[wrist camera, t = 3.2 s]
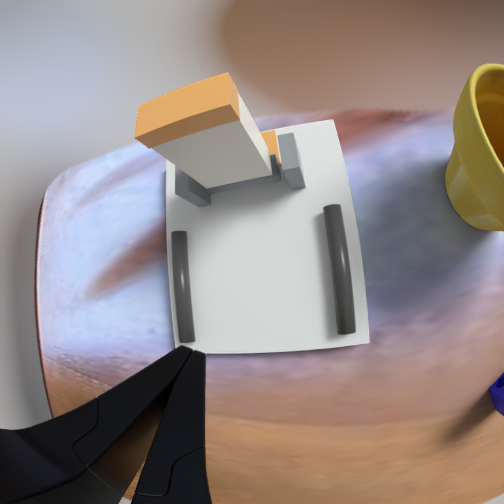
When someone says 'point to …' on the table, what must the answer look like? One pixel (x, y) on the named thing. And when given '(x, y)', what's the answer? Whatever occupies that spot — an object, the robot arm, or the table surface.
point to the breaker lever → (208, 135)
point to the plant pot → (479, 150)
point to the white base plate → (269, 254)
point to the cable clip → (498, 394)
